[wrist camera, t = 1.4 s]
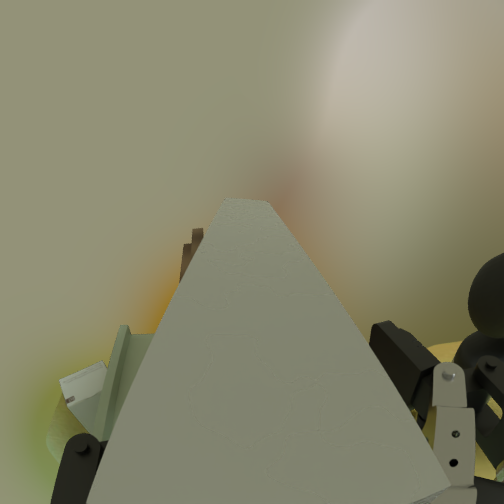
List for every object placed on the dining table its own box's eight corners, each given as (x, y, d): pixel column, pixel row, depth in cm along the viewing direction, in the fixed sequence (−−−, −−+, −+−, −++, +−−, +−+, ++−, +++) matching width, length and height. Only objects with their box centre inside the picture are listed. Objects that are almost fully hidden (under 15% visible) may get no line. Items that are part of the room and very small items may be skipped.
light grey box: (161, 425, 39) (120, 325, 30) (213, 423, 40) (194, 321, 31) (161, 507, 25) (90, 441, 16) (225, 506, 26) (199, 446, 17)
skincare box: (133, 413, 41) (104, 356, 34) (148, 437, 36) (119, 383, 30) (94, 431, 35) (56, 376, 29) (107, 456, 31) (66, 405, 25)
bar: (222, 238, 27) (225, 197, 26) (263, 242, 28) (267, 201, 27) (155, 558, 3) (86, 503, 1) (344, 555, 3) (450, 485, 2)
